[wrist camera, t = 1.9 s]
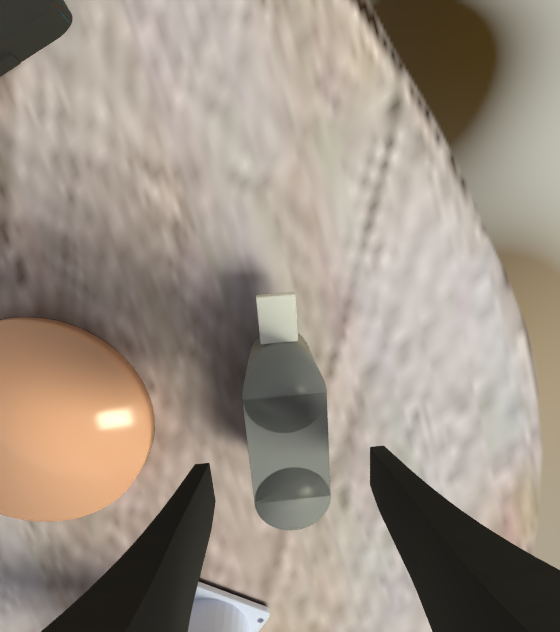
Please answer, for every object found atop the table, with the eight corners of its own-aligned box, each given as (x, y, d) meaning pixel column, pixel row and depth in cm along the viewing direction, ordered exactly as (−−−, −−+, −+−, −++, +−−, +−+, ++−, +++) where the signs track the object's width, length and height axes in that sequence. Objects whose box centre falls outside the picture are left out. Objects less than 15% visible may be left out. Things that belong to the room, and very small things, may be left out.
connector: (315, 457, 19) (331, 525, 14) (260, 462, 19) (258, 533, 14) (306, 286, 16) (322, 298, 11) (242, 291, 16) (231, 306, 11)
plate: (106, 531, 19) (95, 549, 18) (-95, 455, 17) (-121, 470, 16) (190, 382, 17) (184, 391, 16) (-29, 273, 15) (-54, 275, 14)
